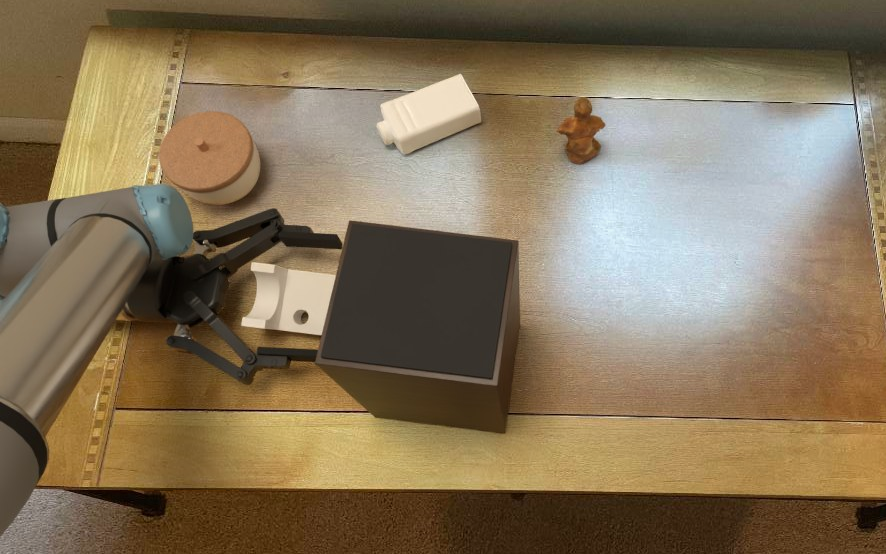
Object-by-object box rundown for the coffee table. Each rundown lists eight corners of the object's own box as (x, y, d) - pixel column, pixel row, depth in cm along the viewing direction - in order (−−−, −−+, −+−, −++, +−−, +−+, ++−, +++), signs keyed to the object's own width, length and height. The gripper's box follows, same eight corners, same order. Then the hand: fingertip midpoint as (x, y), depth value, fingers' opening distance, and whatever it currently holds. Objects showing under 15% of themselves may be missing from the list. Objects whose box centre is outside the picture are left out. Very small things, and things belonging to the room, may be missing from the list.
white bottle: (373, 124, 95) (367, 106, 91) (461, 88, 97) (459, 69, 93) (392, 163, 93) (386, 146, 89) (482, 125, 95) (480, 107, 91)
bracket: (268, 328, 86) (241, 325, 78) (277, 269, 86) (251, 262, 79) (374, 341, 85) (358, 340, 78) (383, 283, 86) (367, 276, 79)
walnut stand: (505, 434, 81) (497, 386, 58) (374, 417, 81) (314, 363, 58) (520, 325, 86) (518, 240, 62) (396, 309, 86) (348, 219, 63)
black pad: (492, 379, 58) (492, 378, 57) (321, 358, 58) (320, 356, 58) (512, 244, 62) (512, 242, 62) (353, 225, 62) (352, 223, 62)
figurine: (559, 135, 95) (563, 79, 84) (601, 141, 95) (612, 86, 84) (554, 164, 94) (558, 112, 82) (597, 171, 93) (607, 119, 82)
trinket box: (171, 203, 90) (133, 166, 82) (212, 134, 94) (179, 91, 85) (248, 228, 89) (218, 193, 81) (286, 158, 93) (261, 117, 84)
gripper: (181, 203, 88) (353, 212, 88) (130, 405, 79) (322, 414, 79) (151, 173, 81) (338, 182, 81) (92, 390, 72) (302, 401, 72)
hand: (330, 297), depth 80 cm, fingers open, 13 cm apart
